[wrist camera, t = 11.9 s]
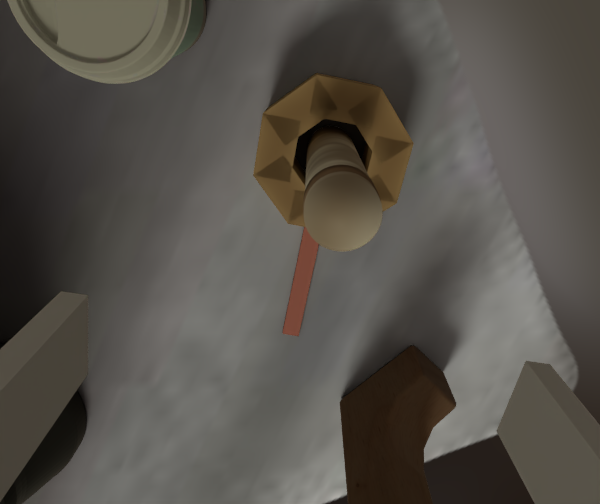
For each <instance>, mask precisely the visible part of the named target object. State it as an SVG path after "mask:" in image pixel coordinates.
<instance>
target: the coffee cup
mask: <svg viewBox="0 0 600 504" xmlns="http://www.w3.org/2000/svg"><path fill="white" fill-rule="evenodd" d="M7 1H8V3H9V6H10V8H11V11H12V12H13V14H14V16H15V18H16V20H17V22H18V23H19V25H20V26H21V28H22V29H23V31H24V32H25V33H26V34H27V36H28V37H29V38H30V39H31V40H32V42H33V43H34V44H35V45H37V46H38V47H39V48H40V49H41V50H42V51H43V52H44V53H45V54H46V55H47V56H48V57H49V58H51V59H52V60H53V61H54V62H56V63H57V64H58V65H60V66H61V67H63V68H65V69H66V70H68V71H70V72H72V73H74V74H76V75H79V76H81V77H84V78H87V79H90V80H93V81H97V82H102V83H110V84H122V83H129V82H134V81H138V80H140V79H143V78H145V77H148V76H150V75H151V74H153V73H155V72H156V71H158V70H159V69H160V68H162V67H163V66H164V65H165V64H166V63H167V62H168V61H169V60H170V59H171V58H173V57H175V56H177V55H179V54H181V53H183V52H184V51H186V50H188V49H189V48H191V47H192V46H193V45H194V44H195V43H196V42H197V40H198V39H199V37H200V36H201V34H202V32H203V29H204V26H205V21H206V3H205V0H7Z"/></svg>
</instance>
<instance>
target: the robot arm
mask: <svg viewBox="0 0 600 504" xmlns="http://www.w3.org/2000/svg"><path fill="white" fill-rule="evenodd" d="M87 375H88V295H83V294H77V293H70V292H63V291H61V292H60V293H59V294H58V295H57V296H56V297H54V298H53V299H52V300H51V301H50V302H49V303H48V304H47V305H46V306H45V307H44V308H43V309H42V310H41V311H40V312H39V313H38V314H37V315H36V316H35V317H34V318H32V319H31V320H30V321H29V322H28V323H27V324H26V325H25V326H24V327H23V328H22V329H21V330H20V331H19V332H18V333H17V334H16V335H15V336H14V337H13V338H12V339H10V340H9V341H8V342H7V343H6V344H1V343H0V504H22V503H23V502H25V501H26V500H27V499H28V498H30V497H31V496H32V495H33V494H34V493H36V492H37V491H38V490H39V489H40V488H41V487H43V486H44V485H45V484H46V483H47V482H48V481H49V480H51V479H52V478H53V477H54V476H56V475H57V474H58V473H59V472H60V471H61V470H62V469H63V468H64V467H65V466H66V465H67V464H68V463H69V461H70V460H71V458H72V457H73V455H74V453H75V452H76V450H77V449H78V447H79V445H80V444H81V442H82V440H83V437H84V434H85V430H86V413H85V409H84V405H83V402H82V400H81V398H80V396H79V394H78V392H77V389H78V388H79V386H80V385H81V383H82V382H83V380H84V379H85V377H86V376H87ZM497 433H498V435H499V436H500V438H501V440H502V442H503V444H504V446H505V448H506V450H507V452H508V453H509V455H510V457H511V459H512V461H513V463H514V465H515V467H516V469H517V471H518V473H519V474H520V476H521V478H522V480H523V482H524V484H525V486H526V488H527V490H528V491H529V493H530V495H531V497H532V499H533V501H534V503H535V504H600V425H599V424H598V423H597V421H596V420H595V419H594V418H593V416H592V415H591V414H590V413H589V412H588V410H587V409H586V408H585V407H584V406H583V404H582V403H581V402H580V401H579V399H578V398H577V397H576V396H575V395H574V393H573V392H572V391H571V390H570V388H569V387H568V386H567V385H566V383H565V382H564V381H563V380H562V379H561V377H560V376H559V375H558V374H557V372H556V371H555V370H554V369H553V368H552V366H551V365H550V364H544V363H537V362H530V361H526V362H525V364H524V367H523V369H522V371H521V374H520V376H519V379H518V381H517V383H516V386H515V388H514V391H513V393H512V395H511V398H510V400H509V403H508V405H507V408H506V410H505V412H504V415H503V417H502V420H501V422H500V424H499V427H498V429H497Z"/></svg>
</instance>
